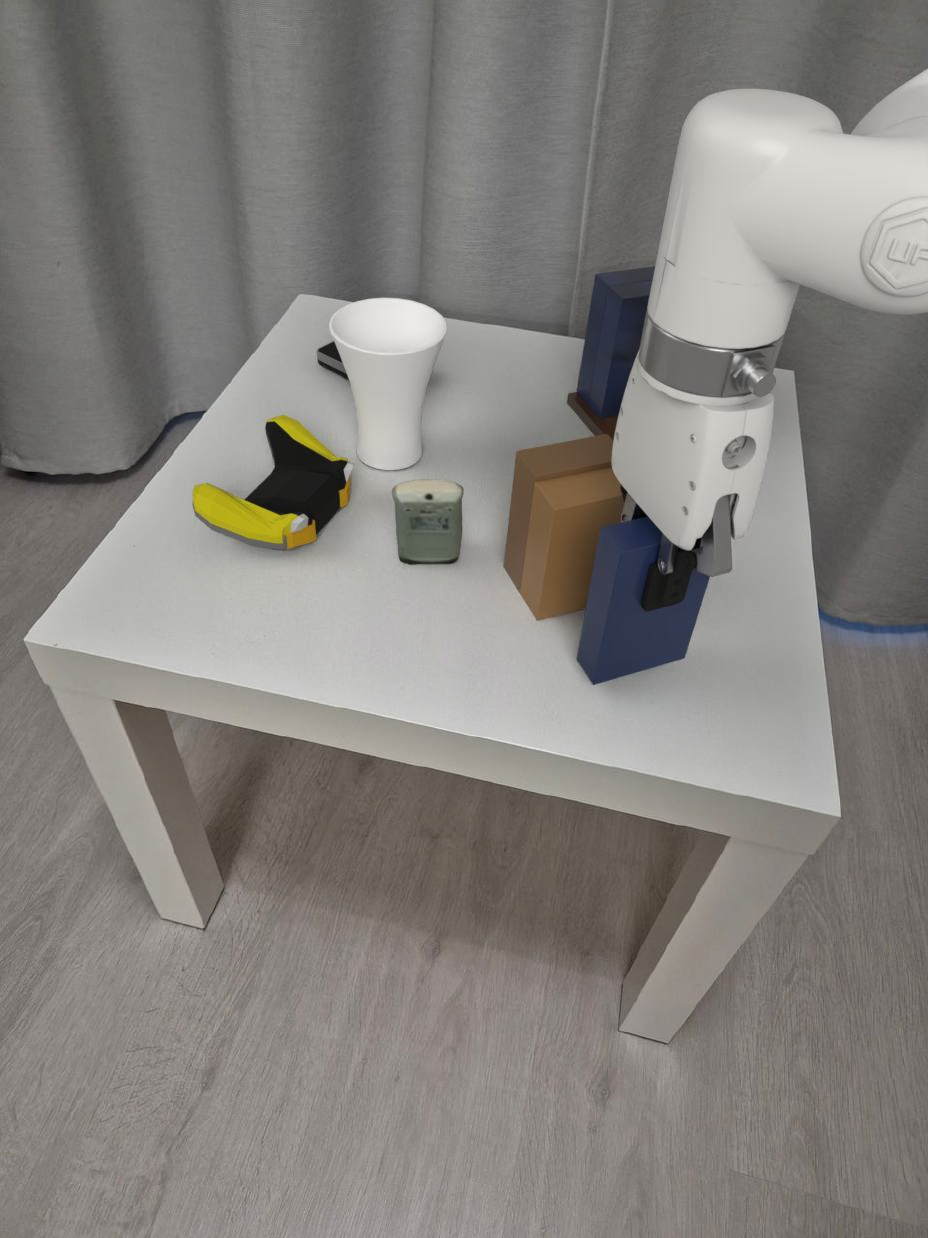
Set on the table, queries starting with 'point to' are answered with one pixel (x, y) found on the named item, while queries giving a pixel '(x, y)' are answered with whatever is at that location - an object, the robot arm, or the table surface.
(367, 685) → the table surface
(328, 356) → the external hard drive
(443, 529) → the grey-green rounded box
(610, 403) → the blue bookends on base
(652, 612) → the navy book
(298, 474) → the gaming controller
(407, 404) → the cup
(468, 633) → the table surface
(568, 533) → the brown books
